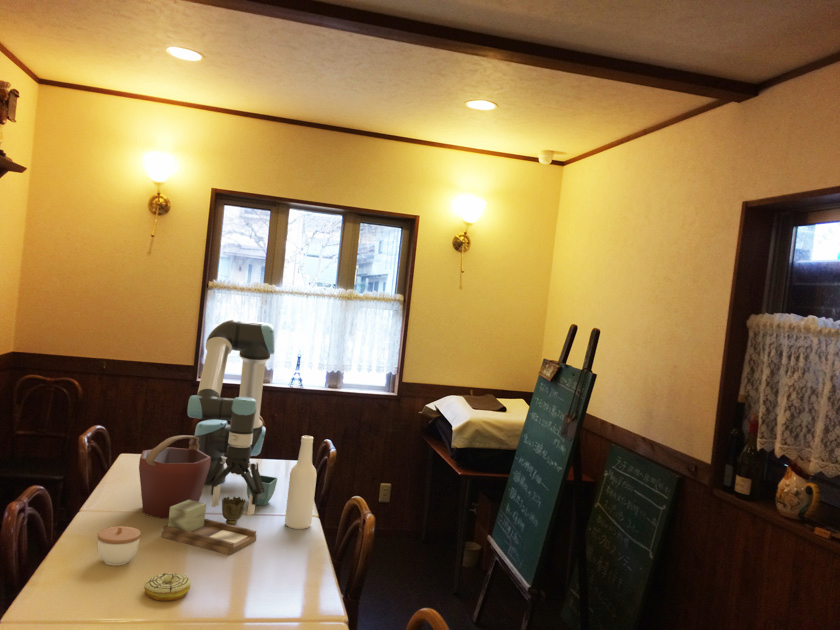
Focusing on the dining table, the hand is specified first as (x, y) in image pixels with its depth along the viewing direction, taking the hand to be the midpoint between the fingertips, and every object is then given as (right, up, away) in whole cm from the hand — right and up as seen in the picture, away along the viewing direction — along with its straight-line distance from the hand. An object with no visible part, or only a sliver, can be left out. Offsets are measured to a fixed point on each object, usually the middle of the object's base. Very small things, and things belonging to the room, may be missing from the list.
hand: (232, 509), depth 219 cm
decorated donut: (-2, -6, -52) cm, 52 cm away
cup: (-1, -5, 0) cm, 5 cm away
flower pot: (+3, -5, +24) cm, 25 cm away
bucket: (-23, -2, +7) cm, 24 cm away
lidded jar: (-21, -3, -37) cm, 43 cm away
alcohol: (+20, -7, +6) cm, 22 cm away
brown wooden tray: (-3, -5, -14) cm, 15 cm away
